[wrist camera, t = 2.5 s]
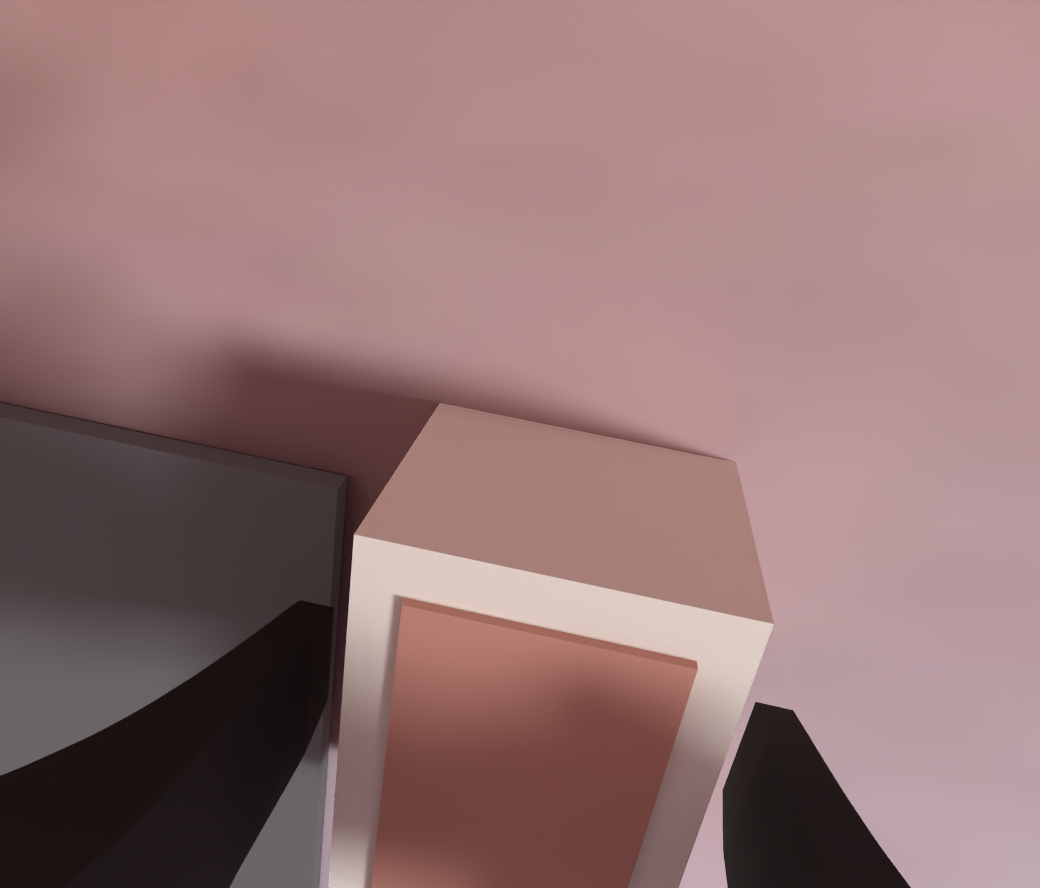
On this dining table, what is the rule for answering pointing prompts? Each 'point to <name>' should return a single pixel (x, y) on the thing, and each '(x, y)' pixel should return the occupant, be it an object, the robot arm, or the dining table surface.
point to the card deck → (541, 660)
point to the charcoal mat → (154, 591)
